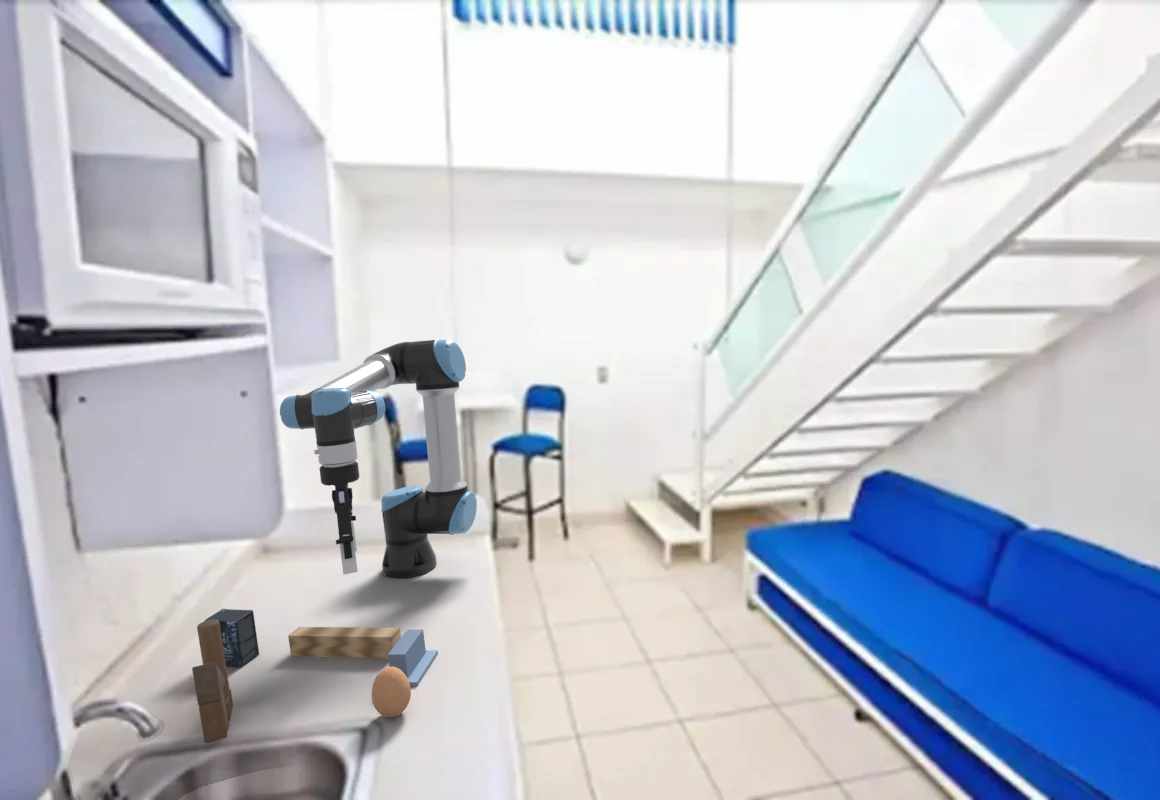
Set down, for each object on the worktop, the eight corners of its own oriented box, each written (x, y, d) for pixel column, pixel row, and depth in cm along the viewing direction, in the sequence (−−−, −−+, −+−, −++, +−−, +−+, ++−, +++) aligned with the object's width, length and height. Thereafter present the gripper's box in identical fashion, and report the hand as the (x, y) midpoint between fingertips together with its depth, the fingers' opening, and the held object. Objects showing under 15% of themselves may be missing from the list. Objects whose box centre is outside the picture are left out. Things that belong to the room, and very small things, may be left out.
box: (210, 666, 140) (203, 619, 139) (230, 652, 146) (223, 607, 144) (242, 668, 139) (234, 621, 137) (260, 654, 144) (253, 609, 143)
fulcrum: (401, 654, 139) (398, 627, 139) (438, 653, 138) (435, 627, 138) (378, 686, 128) (374, 657, 127) (417, 686, 127) (414, 656, 126)
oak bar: (291, 657, 142) (288, 635, 142) (301, 647, 146) (299, 626, 146) (394, 659, 138) (391, 637, 137) (402, 649, 142) (399, 627, 141)
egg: (367, 717, 118) (361, 670, 117) (399, 699, 123) (394, 654, 121) (387, 731, 113) (381, 683, 112) (420, 711, 118) (415, 665, 117)
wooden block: (204, 744, 113) (188, 646, 111) (212, 711, 123) (197, 621, 121) (227, 737, 115) (212, 641, 112) (234, 705, 125) (220, 616, 122)
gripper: (321, 455, 146) (332, 547, 148) (316, 478, 122) (329, 586, 125) (356, 450, 148) (367, 541, 151) (358, 472, 125) (370, 578, 127)
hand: (350, 561), depth 138 cm, fingers open, 13 cm apart
